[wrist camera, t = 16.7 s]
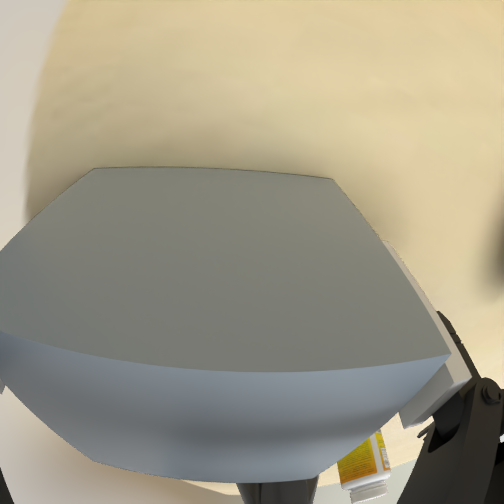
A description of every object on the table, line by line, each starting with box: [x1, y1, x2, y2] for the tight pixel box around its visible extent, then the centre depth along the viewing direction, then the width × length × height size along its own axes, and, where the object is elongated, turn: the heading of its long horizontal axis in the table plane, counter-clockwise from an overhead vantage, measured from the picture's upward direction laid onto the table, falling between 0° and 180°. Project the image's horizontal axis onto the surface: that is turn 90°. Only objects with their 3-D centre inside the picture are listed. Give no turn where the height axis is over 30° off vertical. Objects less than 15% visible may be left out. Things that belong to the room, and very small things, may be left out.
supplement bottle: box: [337, 429, 391, 504], centre depth 23 cm, size 6×6×10 cm
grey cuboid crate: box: [0, 167, 452, 483], centre depth 10 cm, size 10×10×9 cm
